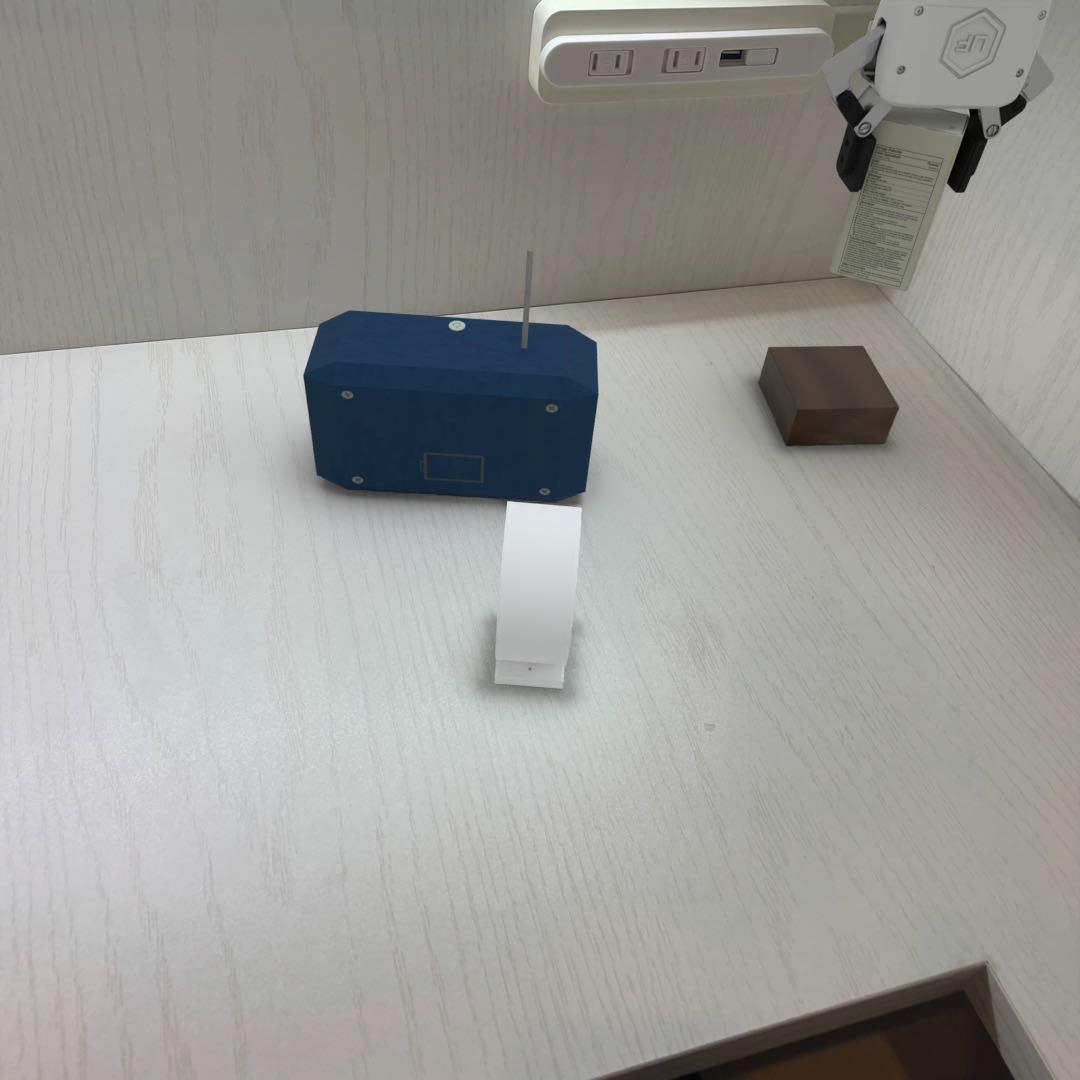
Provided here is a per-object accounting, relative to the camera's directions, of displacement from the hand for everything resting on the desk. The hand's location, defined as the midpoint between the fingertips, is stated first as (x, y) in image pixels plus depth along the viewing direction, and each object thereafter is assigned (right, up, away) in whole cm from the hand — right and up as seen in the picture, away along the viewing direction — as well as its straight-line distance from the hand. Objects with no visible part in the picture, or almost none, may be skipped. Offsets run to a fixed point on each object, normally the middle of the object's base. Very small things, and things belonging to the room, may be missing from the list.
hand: (900, 182), depth 71 cm
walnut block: (-1, -15, +16) cm, 22 cm away
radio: (-33, -20, +8) cm, 40 cm away
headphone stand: (-27, -35, -5) cm, 44 cm away
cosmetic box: (0, -5, +5) cm, 7 cm away
